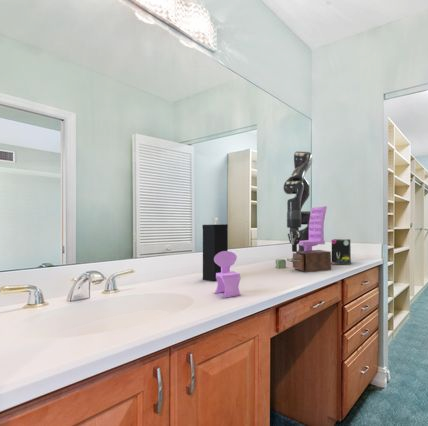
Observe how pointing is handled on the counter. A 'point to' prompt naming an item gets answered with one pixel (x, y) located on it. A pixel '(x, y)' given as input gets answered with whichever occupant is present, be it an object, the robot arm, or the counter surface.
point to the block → (280, 263)
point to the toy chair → (227, 274)
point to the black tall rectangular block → (213, 248)
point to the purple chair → (315, 228)
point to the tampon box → (341, 251)
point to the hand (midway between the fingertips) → (294, 251)
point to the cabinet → (316, 260)
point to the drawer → (298, 261)
